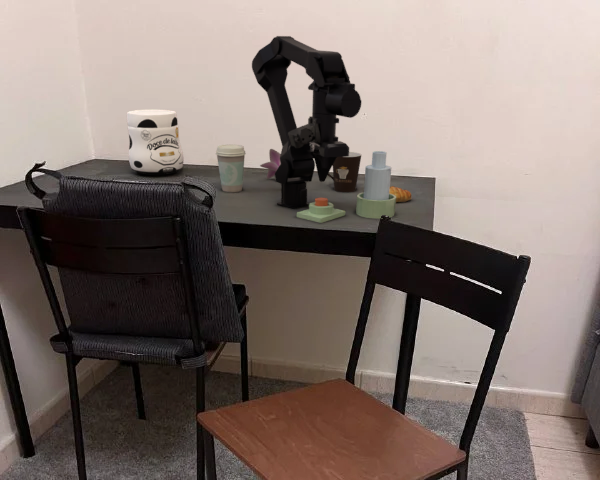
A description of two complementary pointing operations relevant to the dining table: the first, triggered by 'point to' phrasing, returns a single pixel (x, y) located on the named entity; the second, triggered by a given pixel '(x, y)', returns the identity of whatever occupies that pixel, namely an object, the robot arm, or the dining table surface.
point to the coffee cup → (231, 166)
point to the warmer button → (321, 202)
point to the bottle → (377, 178)
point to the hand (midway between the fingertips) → (321, 181)
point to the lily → (272, 163)
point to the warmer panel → (320, 213)
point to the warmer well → (375, 207)
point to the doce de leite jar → (154, 142)
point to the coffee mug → (346, 172)
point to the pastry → (400, 194)
